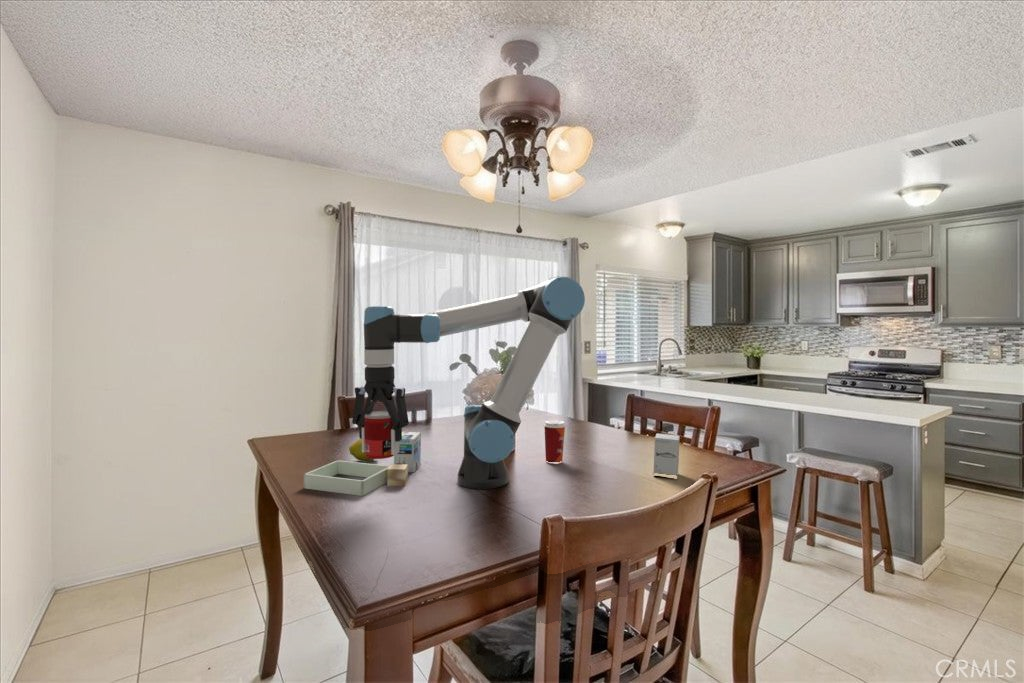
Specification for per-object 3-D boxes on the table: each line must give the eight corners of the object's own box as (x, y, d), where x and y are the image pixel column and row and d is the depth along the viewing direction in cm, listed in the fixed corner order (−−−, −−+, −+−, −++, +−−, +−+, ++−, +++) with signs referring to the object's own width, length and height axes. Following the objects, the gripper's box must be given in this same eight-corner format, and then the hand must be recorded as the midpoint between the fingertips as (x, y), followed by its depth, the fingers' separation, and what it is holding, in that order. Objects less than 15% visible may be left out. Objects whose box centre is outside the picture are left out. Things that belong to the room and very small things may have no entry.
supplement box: (652, 477, 152) (653, 437, 152) (655, 470, 159) (656, 432, 158) (677, 480, 149) (678, 439, 149) (678, 473, 156) (679, 434, 156)
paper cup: (566, 465, 163) (566, 424, 163) (543, 464, 164) (544, 423, 163) (564, 459, 171) (564, 419, 171) (542, 458, 171) (543, 419, 171)
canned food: (388, 460, 122) (387, 416, 122) (359, 458, 124) (358, 415, 123) (401, 452, 130) (400, 411, 129) (373, 450, 131) (373, 410, 131)
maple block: (407, 480, 145) (407, 464, 145) (404, 486, 140) (405, 469, 140) (390, 480, 144) (390, 464, 144) (387, 486, 139) (387, 469, 139)
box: (392, 479, 146) (392, 466, 145) (362, 496, 131) (362, 481, 131) (337, 473, 151) (337, 460, 151) (303, 488, 136) (303, 474, 136)
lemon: (381, 457, 170) (381, 434, 170) (383, 463, 163) (383, 439, 163) (348, 459, 166) (348, 436, 166) (349, 465, 159) (349, 441, 159)
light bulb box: (414, 473, 153) (414, 439, 152) (392, 472, 153) (393, 438, 152) (421, 463, 163) (421, 431, 163) (401, 463, 163) (401, 431, 163)
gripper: (422, 365, 127) (423, 451, 127) (353, 363, 132) (354, 446, 133) (408, 367, 119) (409, 459, 120) (336, 366, 125) (337, 453, 126)
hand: (380, 452), depth 127 cm, fingers closed on canned food, 8 cm apart
